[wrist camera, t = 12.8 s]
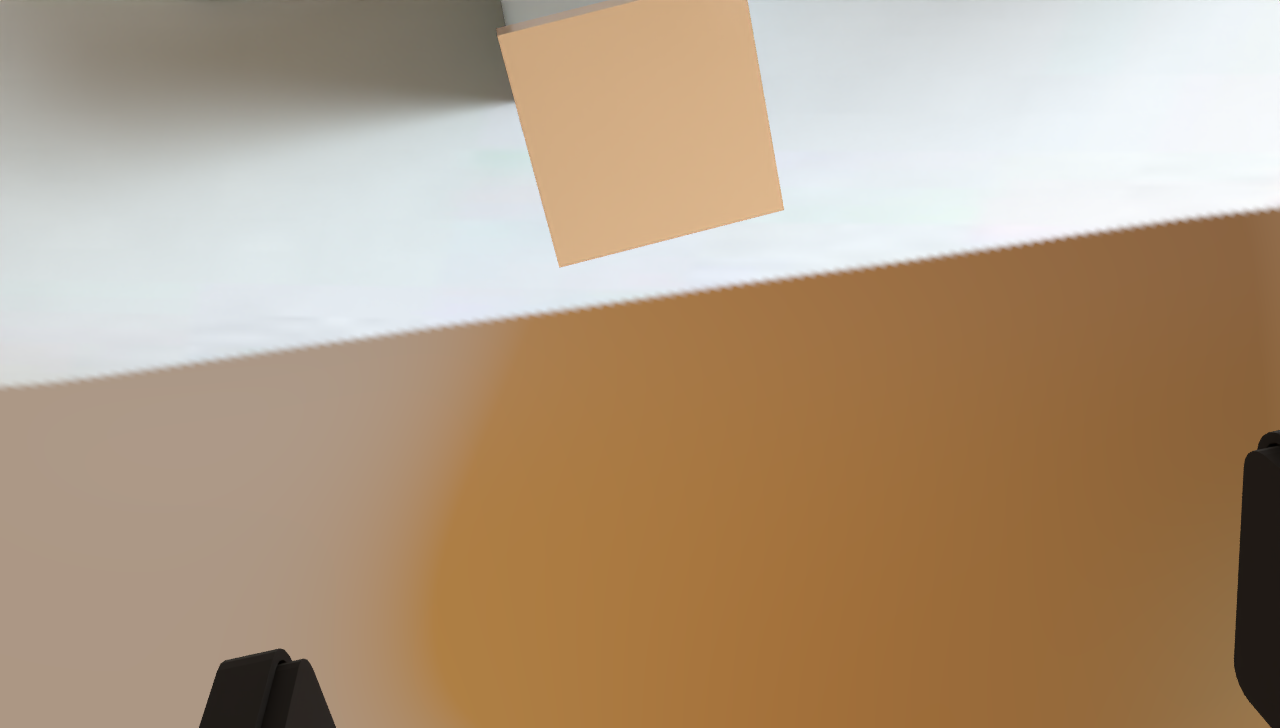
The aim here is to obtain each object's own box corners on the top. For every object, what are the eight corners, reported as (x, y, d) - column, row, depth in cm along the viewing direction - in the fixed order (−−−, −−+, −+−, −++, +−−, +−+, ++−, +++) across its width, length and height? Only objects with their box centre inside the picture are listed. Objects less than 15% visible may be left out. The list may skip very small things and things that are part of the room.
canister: (638, -83, 41) (743, -26, 25) (670, 71, 43) (783, 210, 28) (486, -46, 40) (497, 35, 25) (526, 108, 43) (559, 267, 27)
